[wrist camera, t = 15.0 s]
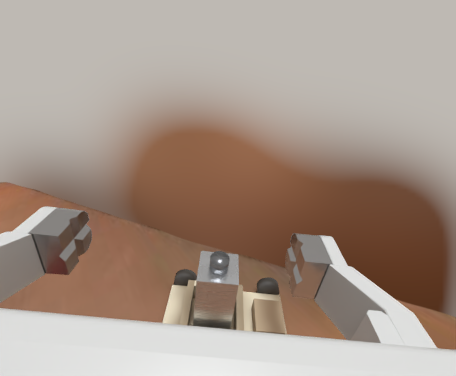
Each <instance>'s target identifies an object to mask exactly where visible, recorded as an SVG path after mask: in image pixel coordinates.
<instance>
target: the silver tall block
mask: <svg viewBox="0 0 456 376" xmlns="http://www.w3.org/2000/svg"><path fill="white" fill-rule="evenodd" d="M238 287H239V269H238V255H237V254H227V253H225V252H222V251H217V252H207V251H201V256H200V262H199V268H198V274H197V281H196V293H195V306H194V320H193V326H200V327H210V328H221V329H230V327H231V322H232V317H233V312H234V307H235V302H236V297H237V292H238Z"/></svg>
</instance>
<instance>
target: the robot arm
mask: <svg viewBox="0 0 456 376" xmlns="http://www.w3.org/2000/svg"><path fill="white" fill-rule="evenodd" d="M88 221H89V217H88V213H87V212H85V211H80V210H72V209H65V208H56V207H47V206H46V207H42V208H40V209H39V210H38V211H37V212H36V213H34V214H33V215H32V216H31V217H29V218H28V219H27V220H26V221H24V222H23V223H22V224H21V225H20V226H18V227H17V228H16V229H15V230H13V231H12V232H5V233H2V234H0V303H1V302H2V301H4V300H5V299H7V298H8V297H10V296H12V295H13V294H15V293H16V292H18V291H19V290H21V289H23V288H24V287H26V286H27V285H29V284H30V283H32V282H34V281H35V280H37V279H38V278H40V277H41V276H43V275H45V273H50V274H64V275H69V274H70V273H71V271H72V270H73V269H74V267H75V266H76V264H77V263H78V262H79V260H78V256H80V255H82V254H84V253H85V252H86V251H87V249H88V248H89V246H90V243H91V240H92V232H91V229H90V228H89V227H88V226H87V225H86V224H87V222H88ZM290 242H291V246H292V247H290V248H289V249H288V250H287V254H286V262H285V264H286V271H287V274H288V275H289V276H290V281H289V284H290V288H291V293H292V297H300V298H308V299H315V300H314V301H315V302H316V303H317V304H318V305H319V307H320V308H321V309H322V310H323V311H324V313H325V314H326V315H327V316H328V317H329V319H330V320H331V321H332V322H333V323H334V325H335V326H336V327H337V328H338V329H339V331H340V332H341V333H342V334H343V335H344V337H345V338H346V339H347V340H340V339H329V338H319V337H308V336H297V335H286V334H275V333H265V332H254V331H243V330H232V329H221V328H210V327H200V326H189V325H178V324H167V323H156V322H145V321H134V320H124V319H113V318H102V317H91V316H80V315H69V314H58V313H48V312H37V311H26V310H15V309H4V308H0V376H456V350H449V349H438V348H437V347H436V346H435V344H434V343H433V341H432V340H431V338H430V337H429V335H428V334H427V332H426V331H425V329H424V328H423V326H422V325H421V323H420V322H419V320H418V319H417V317H416V316H415V314H414V313H412V312H411V311H410V310H409V309H407V308H406V307H405V306H403V305H402V304H401V303H399V302H398V301H397V300H395V299H394V298H393V297H391V296H390V295H389V294H387V293H386V292H384V291H383V290H382V289H381V288H379V287H378V286H377V285H375V284H374V283H373V282H371V281H370V280H369V279H367V278H366V277H365V276H363V275H362V274H361V273H359V272H358V271H357V270H355V269H354V268H353V267H349V266H348V265H347V264H346V262H345V260H344V258H343V256H342V254H341V252H340V250H339V249H338V247H337V245H336V243H335V241H334V239H333V238H332V237H331V236H315V235H304V234H295V233H294V234H293V235H292V237H291V240H290Z"/></svg>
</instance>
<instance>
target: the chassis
mask: <svg viewBox="0 0 456 376" xmlns="http://www.w3.org/2000/svg"><path fill="white" fill-rule="evenodd" d="M196 280H197V276H196V274H195V273H194V272H193V271H191V270H187V269H184V270H180V271H178V272H177V273H176V276H175V280H174V285H172V289H171V292H170V296H169V300H168V304H167V308H166V311H165V315H164V319H163V323H167V324H178V325H189V326H193V320H194V306H195V293H196ZM230 329H232V330H243V331H254V332H265V333H275V334H286V335H287V332H286V327H285V321H284V316H283V310H282V305H281V299H280V295H279V288H278V283H277V281H276V280H275V279H273V278H263V279H261V280H259V281H258V283H257V293H252V292H243V285H239V287H238V292H237V297H236V302H235V307H234V312H233V317H232V322H231V327H230Z"/></svg>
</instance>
